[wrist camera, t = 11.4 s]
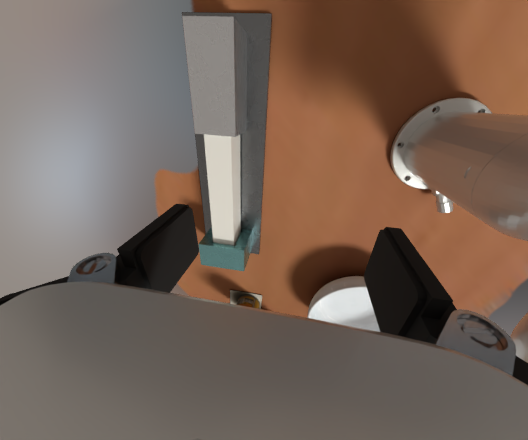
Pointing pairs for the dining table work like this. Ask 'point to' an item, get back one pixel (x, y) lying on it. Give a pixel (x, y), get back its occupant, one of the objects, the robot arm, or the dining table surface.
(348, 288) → the serving bowl
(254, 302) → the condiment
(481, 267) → the dining table surface
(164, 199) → the dining table surface
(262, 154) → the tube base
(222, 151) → the white rectangular stick
